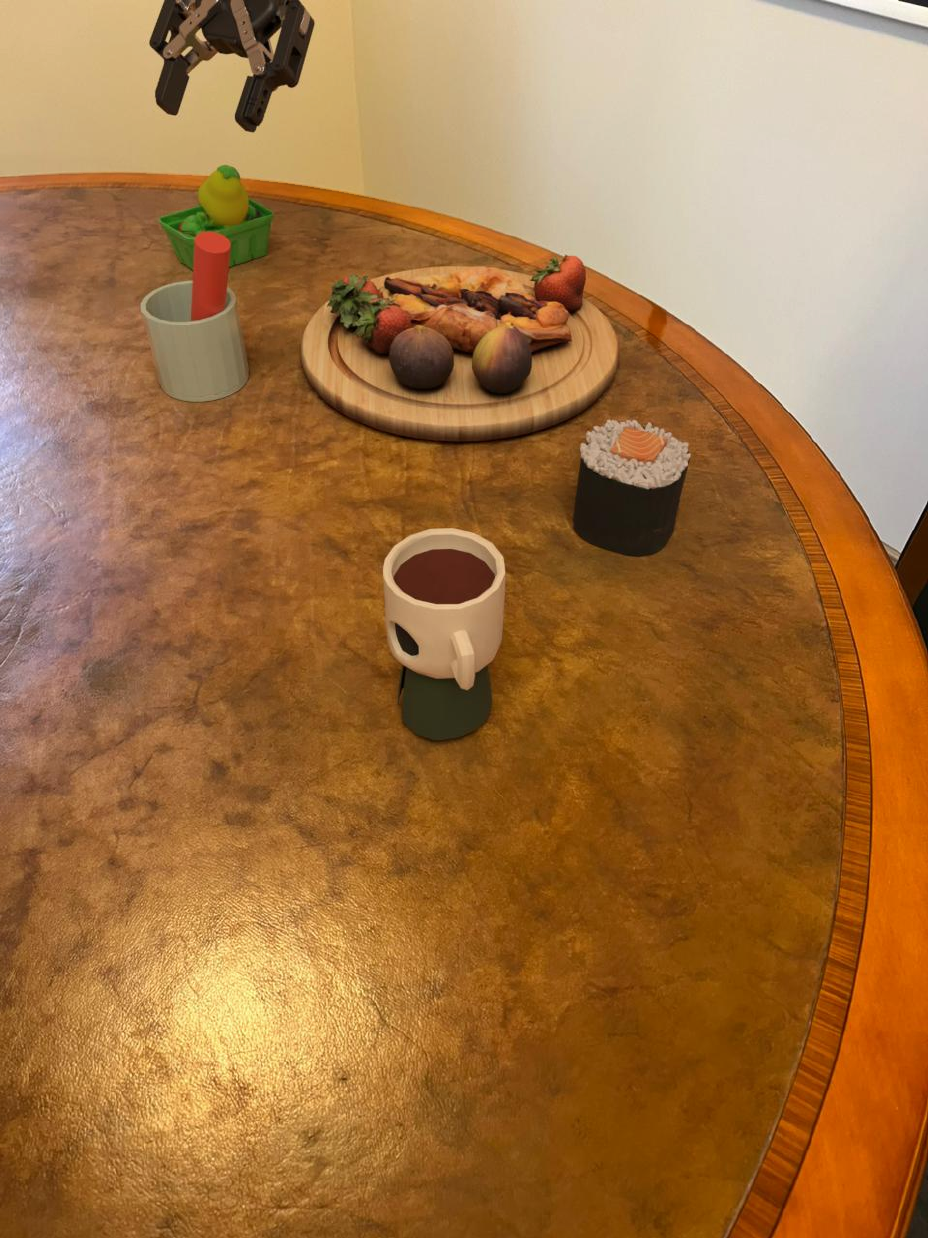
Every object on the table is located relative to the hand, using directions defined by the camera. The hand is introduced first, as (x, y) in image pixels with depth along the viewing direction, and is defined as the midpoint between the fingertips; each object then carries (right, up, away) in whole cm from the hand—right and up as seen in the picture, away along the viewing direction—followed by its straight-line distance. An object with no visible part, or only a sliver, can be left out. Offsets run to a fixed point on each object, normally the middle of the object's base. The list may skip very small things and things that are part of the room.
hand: (204, 118), depth 80 cm
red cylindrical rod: (-3, -18, +11) cm, 22 cm away
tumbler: (-3, -19, +12) cm, 23 cm away
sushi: (+35, -35, -3) cm, 50 cm away
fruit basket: (-6, -1, +30) cm, 31 cm away
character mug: (+21, -49, -17) cm, 56 cm away
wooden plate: (+22, -16, +15) cm, 31 cm away
